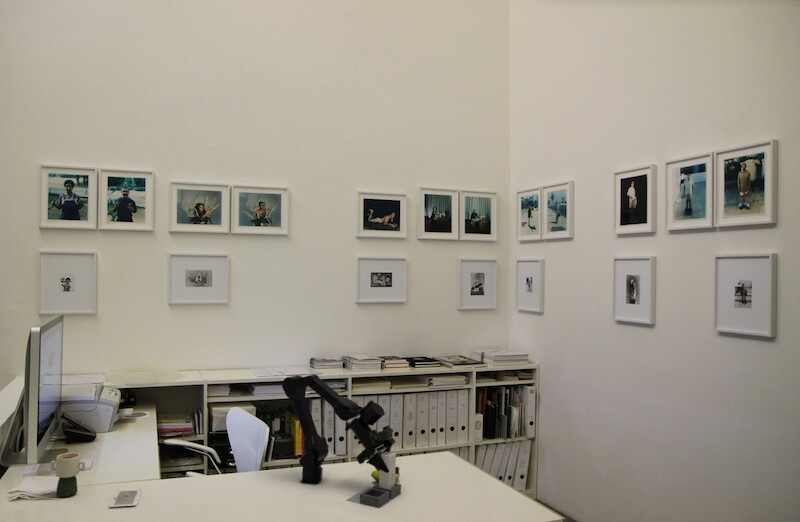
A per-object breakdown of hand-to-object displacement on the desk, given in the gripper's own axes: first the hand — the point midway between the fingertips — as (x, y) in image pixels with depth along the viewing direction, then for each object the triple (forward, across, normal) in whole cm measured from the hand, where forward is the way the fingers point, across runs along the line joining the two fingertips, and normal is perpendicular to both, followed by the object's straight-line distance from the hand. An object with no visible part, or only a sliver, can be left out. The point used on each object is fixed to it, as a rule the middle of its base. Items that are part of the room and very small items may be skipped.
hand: (391, 470), depth 215 cm
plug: (+4, 0, +6) cm, 7 cm away
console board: (+4, -4, +9) cm, 11 cm away
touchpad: (-44, -47, +59) cm, 87 cm away
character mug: (-58, -55, +72) cm, 107 cm away
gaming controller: (0, +15, +14) cm, 20 cm away
